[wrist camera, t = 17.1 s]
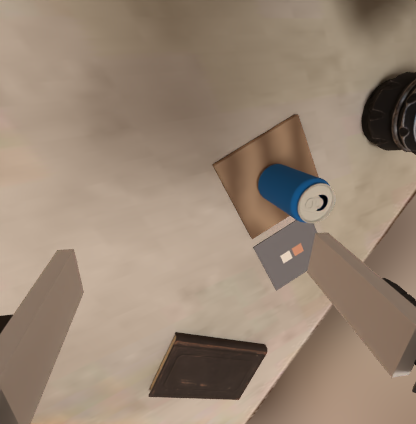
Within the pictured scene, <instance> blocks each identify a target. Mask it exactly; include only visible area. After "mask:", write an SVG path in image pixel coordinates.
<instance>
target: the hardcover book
mask: <svg viewBox="0 0 416 424" xmlns="http://www.w3.org/2000/svg"><path fill="white" fill-rule="evenodd" d="M266 354H267V347H266V346H265V344H258V343H251V342H243V341H236V340H228V339H221V338H214V337H206V336H199V335H191V334H184V333H177V332H176V333H175V337H174V339H173V341H172V343H171V345H170V347H169V349H168V351H167V354H166V356H165V358H164V360H163V362H162V364H161V366H160V368H159V370H158V372H157V374H156V377H155V379H154V381H153V383H152V385H151V387H150V390H151V391H150V394H149V397H171V398H201V399H232V400H239V399H240V397H241V395H242V394H243V392H244V390H245V389H246V387H247V385H248V384H249V382H250V380H251V379H252V377H253V375H254V374H255V372H256V370H257V369H258V367H259V365H260V364H261V362H262V360H263V359H264V357H265V355H266Z"/></svg>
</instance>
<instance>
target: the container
mask: <svg viewBox="0 0 416 424" xmlns="http://www.w3.org/2000/svg"><path fill="white" fill-rule="evenodd" d="M362 127H363V132H364V135H365V136H366V138H367V139H368V140H369V141H370V142H372V143H375V144H377V146H378V147H380V148H382V149H384V150H403V151H406V152H412V153H414V154H415V155H416V72H415V73H410V72H406V73H403V74H401V75H398V76H397V77H395V78H394V79H391V80H388V81H385V82H384V83H382V84H381V85H379V86H378V87H377V88H376V89H375V90H374V92H373V93H372V95H371V96H370V97H369V99H368V101H367V103H366V105H365V107H364V112H363V116H362Z"/></svg>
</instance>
